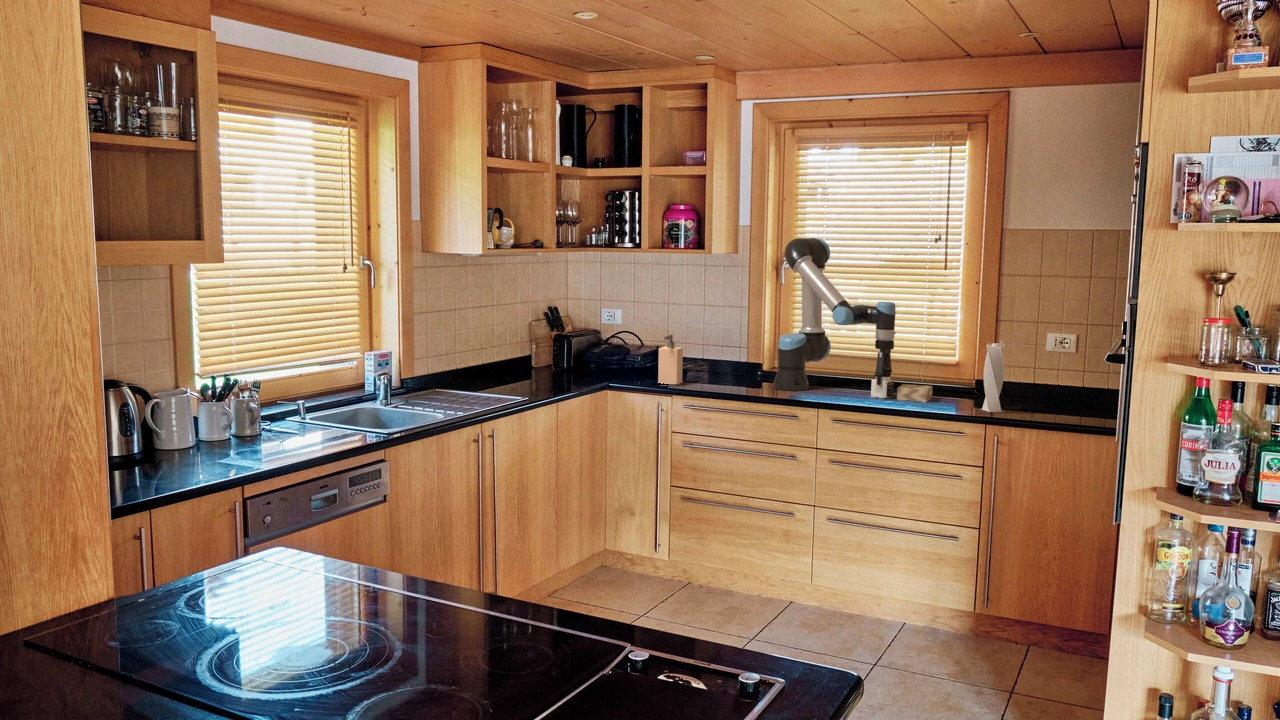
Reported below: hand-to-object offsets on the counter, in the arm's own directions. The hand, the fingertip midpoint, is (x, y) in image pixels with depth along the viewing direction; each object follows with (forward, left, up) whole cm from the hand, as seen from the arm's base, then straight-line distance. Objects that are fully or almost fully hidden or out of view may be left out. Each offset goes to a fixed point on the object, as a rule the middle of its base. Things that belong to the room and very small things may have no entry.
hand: (882, 390), depth 417 cm
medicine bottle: (0, 0, -3) cm, 3 cm away
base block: (+13, +1, -3) cm, 13 cm away
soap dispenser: (-90, -16, -3) cm, 91 cm away
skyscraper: (+45, -13, -3) cm, 47 cm away
